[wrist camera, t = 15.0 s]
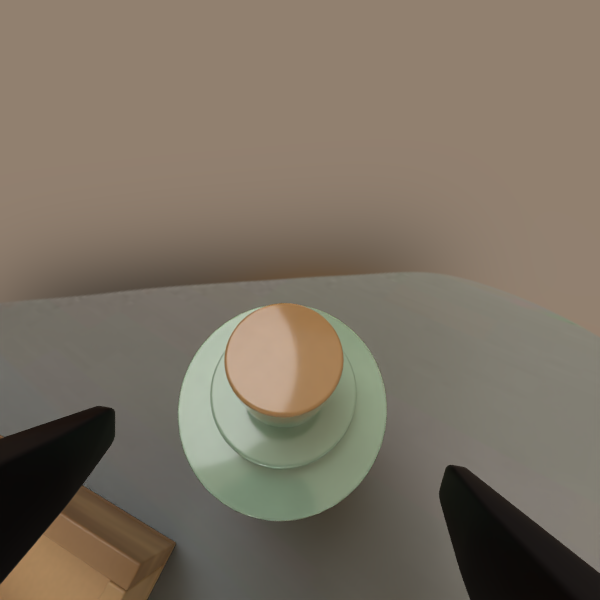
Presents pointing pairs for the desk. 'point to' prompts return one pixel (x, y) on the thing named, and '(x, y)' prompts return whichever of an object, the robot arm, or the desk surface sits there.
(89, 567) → the crate
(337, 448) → the bottle
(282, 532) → the desk surface
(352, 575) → the desk surface
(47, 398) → the desk surface
